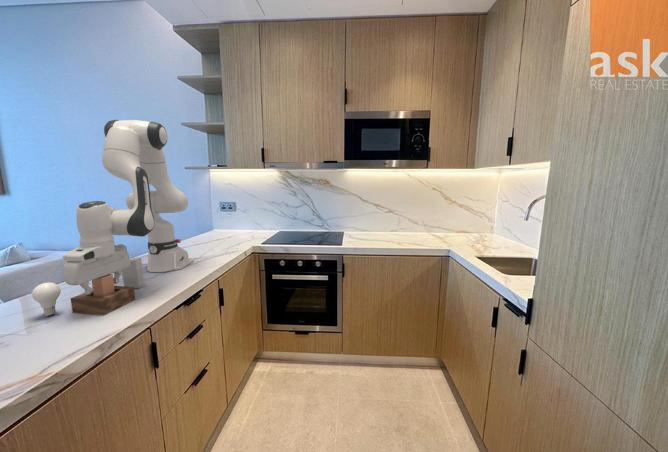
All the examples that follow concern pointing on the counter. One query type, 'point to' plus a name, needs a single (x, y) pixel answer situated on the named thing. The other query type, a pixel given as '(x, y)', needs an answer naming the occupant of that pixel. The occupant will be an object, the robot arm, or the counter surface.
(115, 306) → the walnut socket block
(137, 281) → the skincare box
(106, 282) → the terracotta peg
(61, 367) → the counter surface
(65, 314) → the counter surface
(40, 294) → the lightbulb
